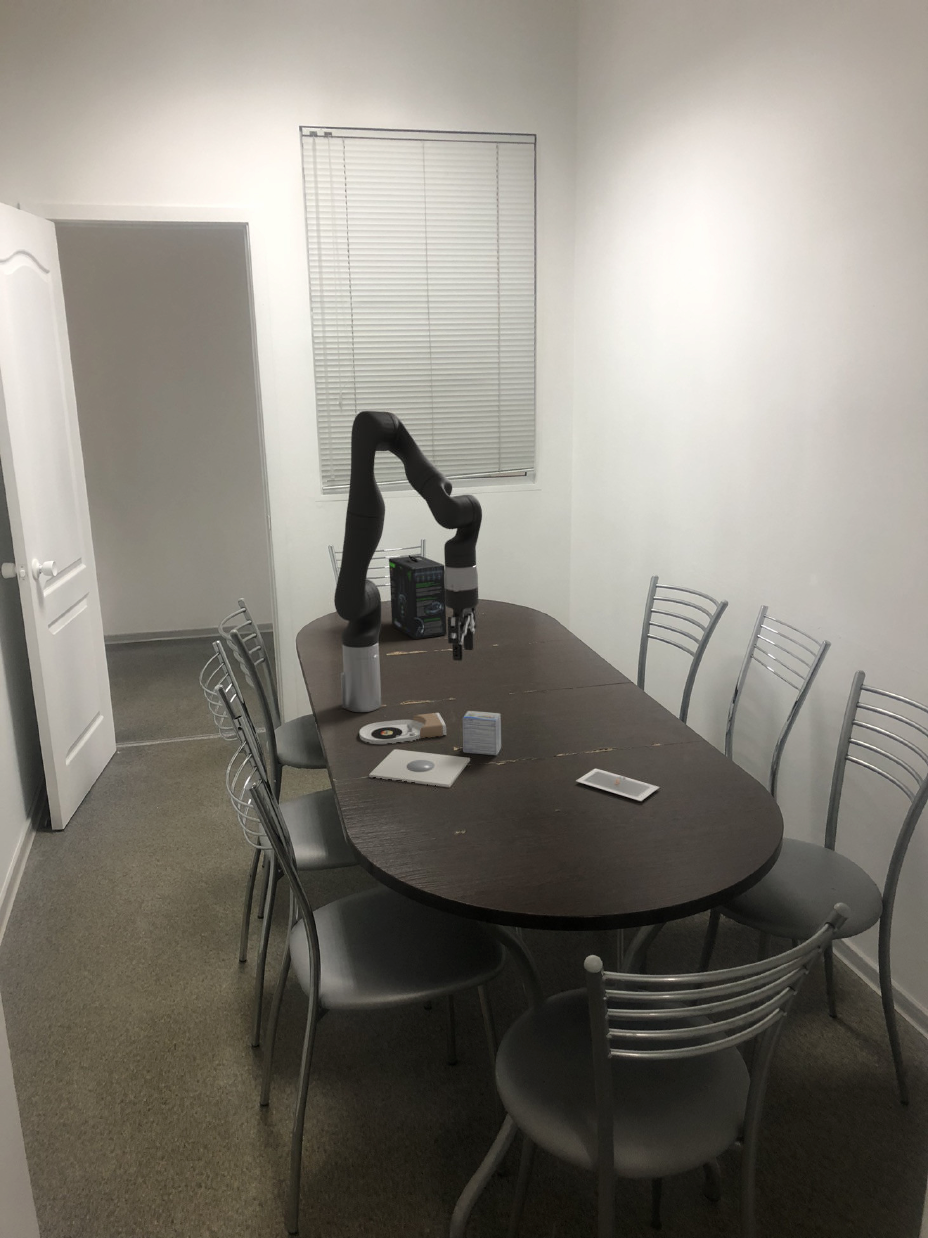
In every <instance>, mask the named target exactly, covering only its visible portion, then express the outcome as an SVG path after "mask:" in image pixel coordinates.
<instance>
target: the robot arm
mask: <svg viewBox="0 0 928 1238" xmlns="http://www.w3.org/2000/svg"><path fill="white" fill-rule="evenodd" d="M350 437H351V439H350V478H349V488H348V489H349V492H348V499H347V500H348V501H347V507H346V515H345V525H344V536H343V544H342V555H341V563H340V569H339V573H338V577H337V581H336V587H335V591H334V596H333V597H334V598H333V599H334V601H333V602H334V608H335V611H336V612H337V614H338V616H339V617H340V618H341V619H342V620H345V621H346V622H347V621H348V623H347V625H346V627H345V628H344V630H343V632H341V644H342V645H341V646H342V658H343V659H342V660H343V661H342V664H343V665H342V666H343V671H342V672H341V673H340V682H341V683H340V685H341V686H340V687H341V703H342V705H341V706H342V709H345V710H348V711H350V712H355V713H368V712H372V711H373V712H374V711H376V710H378V709H380V708H382V707H381V706H382V689H381V671H380V670H381V669H380V649H379V646H380V645H379V641H380V640H379V635H380V633H381V630H382V598H381V597H382V596H381V593H380V590H379V588H378V586H377V585H376V584H375V583H374V582H373V581H372V580H370V579H367V578H368V577H367V576H368V571H369V566H370V564H371V561H372V560H373V557H374V555H375V553H376V552H377V551H376V550H377V548H378V546H379V544H380V541H381V540H382V539H381V538H382V535H383V531H384V524H385V518H386V517H385V516H386V504H385V500H384V497H383V495H382V492H381V490H380V487H379V486H378V481H376V477H375V461H376V459H375V458H376V452H390V453H391V454H393V455H394V456H395V457H396V458H398V459H399V460H400V461H401V463H402V464H403V468H404V473H405V477H406V479H407V481H408V483H409V484H410V486H411V487H412V488H413V489H414V490H415V491H416V492H417V494H418V495H419V496H420V497H422V498H423V500H424V501H425V502H426V503H427V506H428V509H429V510H430V512H431V514H432V516H433V519H434V520H435V521H436V523H437V525H439V526H440V527H442V528H444V529H446V530H456V531H455V532H456V533H455V535H453V536H452V537H451V538H449V539H448V540H446V541H445V544H444V546H443V547H444V548H443V552H444V569H445V573H444V585H445V605H446V608H449V609H451V610H452V615H451V616H447V617H448V618H447V637H448V638H447V643H448V644H449V645H452V659H453V661H458V662H459V661H460V662H461V661H462V660H464V650H465V651H472V650H474V648H475V644H474V643H475V641H474V640H475V639H474V637H475V636H474V634H475V632H476V630H477V627H478V625H477V624H478V622H477V606H479V575H478V569H477V551H476V550H477V549H476V548H477V543H478V539H479V534H480V529H481V525H482V520H483V511H482V510H483V509H482V505H481V503H480V501H479V499H478V498H477V497H476V496H474V495H473V494H462V495H455V496H451V495H452V493H453V485H452V483H451V481H450V479H449V478H448V477H447V476H446V475H445V474H444V473H443V472H442V471H441V470H440V469H439V468H438V467H436V466H435V464H434V463H433V462H432V461H431V460H430V459H429V458H428V457H427V456H426V454H425V453H424V452H423V450H422V449H421V448H420V446H419V445H418V443H417V442H416V441H415V440H416V439H414V437H413V436H412V435H411V433H410V432H409V430H408V428H407V426H405V424H404V423H403V422H402V421H401V419H400V418H399V417H398V416H397V415H396V414H395V413H393V412H390V411H377V410H374V411H373V410H362V411H360V412H359V413H357V415H355V417H354V419H353V423H352V426H351V436H350Z"/></svg>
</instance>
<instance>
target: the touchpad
mask: <svg viewBox="0 0 928 1238" xmlns="http://www.w3.org/2000/svg"><path fill="white" fill-rule="evenodd" d="M575 782H578V783H581V784H585V785H587V786H590V787H594V788H597V789H601V790H603V791H607V792H610V793H614V794H616V795H620V796H623V797H627V798H630V799H633V800H636V801H639V802H642V801H643V800H644V799H646V798H647V797H649V796H650V795H652V793H654V792H655V791H656V790H658V789H659V788H660V786H656V785H654V784H650V783H648V782H647V783H646V782H643V781H640V780H636V779H633V778H629V777H626V776H624V775H619V774H616V773H614V772H613V773H612V772H610V771H606V770H602V769H599V768H594V769H591V770H590V771H589V772H588V773H586V774H584V775H583V776H580V778H578V779H576V780H575Z"/></svg>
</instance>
